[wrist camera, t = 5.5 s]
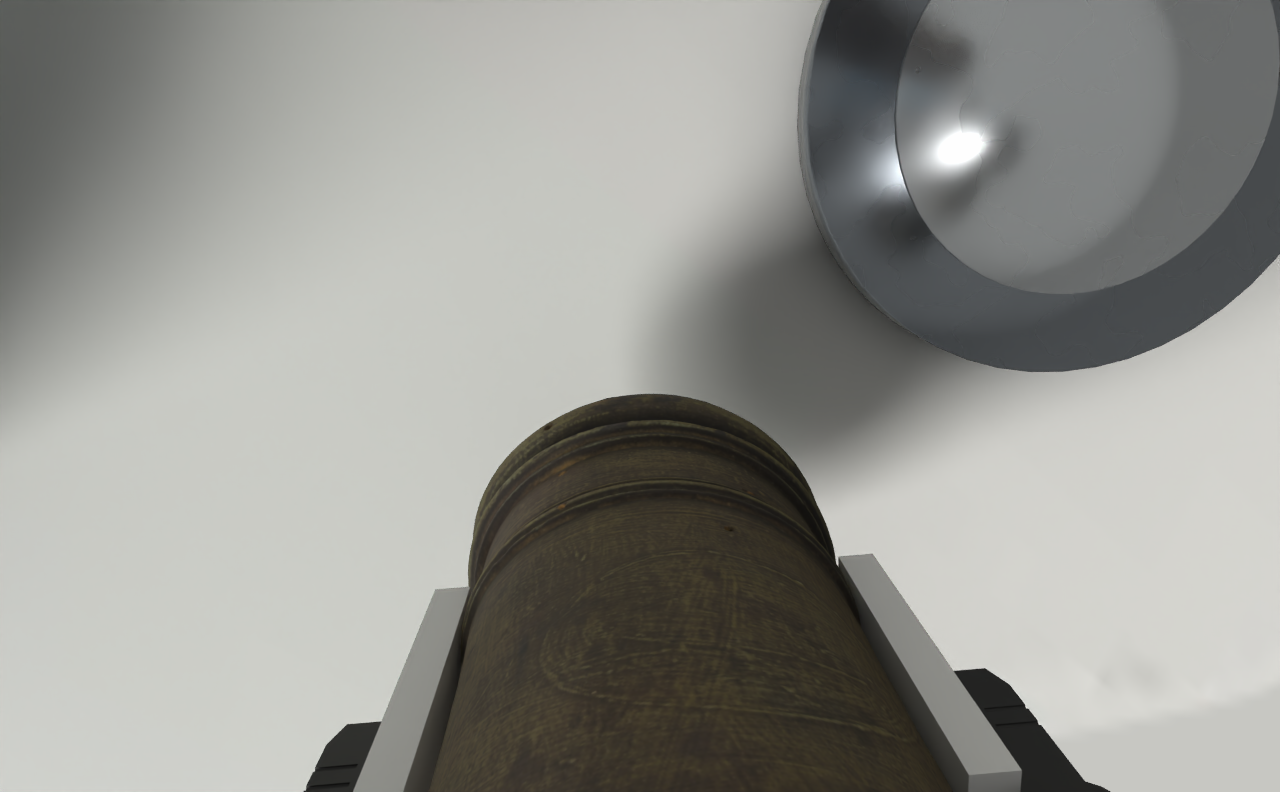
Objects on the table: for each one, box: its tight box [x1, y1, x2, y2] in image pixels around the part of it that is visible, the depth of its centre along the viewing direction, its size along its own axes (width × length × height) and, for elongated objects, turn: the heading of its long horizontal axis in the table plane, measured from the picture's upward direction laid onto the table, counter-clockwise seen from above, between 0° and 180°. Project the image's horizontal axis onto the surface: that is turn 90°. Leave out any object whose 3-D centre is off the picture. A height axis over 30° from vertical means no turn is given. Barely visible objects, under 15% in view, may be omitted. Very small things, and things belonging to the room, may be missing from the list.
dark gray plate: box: [797, 0, 1280, 372], centre depth 24 cm, size 16×16×2 cm
